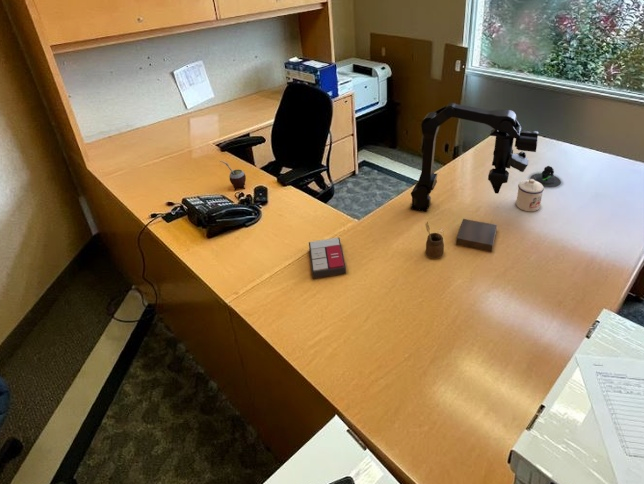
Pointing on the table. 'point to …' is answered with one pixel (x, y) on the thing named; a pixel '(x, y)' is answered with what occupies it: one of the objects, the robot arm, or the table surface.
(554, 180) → the dark grey hat
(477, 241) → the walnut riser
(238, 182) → the mate gourd
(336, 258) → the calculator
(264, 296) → the table surface
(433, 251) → the utensil holder
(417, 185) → the robot arm
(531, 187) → the teacup with lid
